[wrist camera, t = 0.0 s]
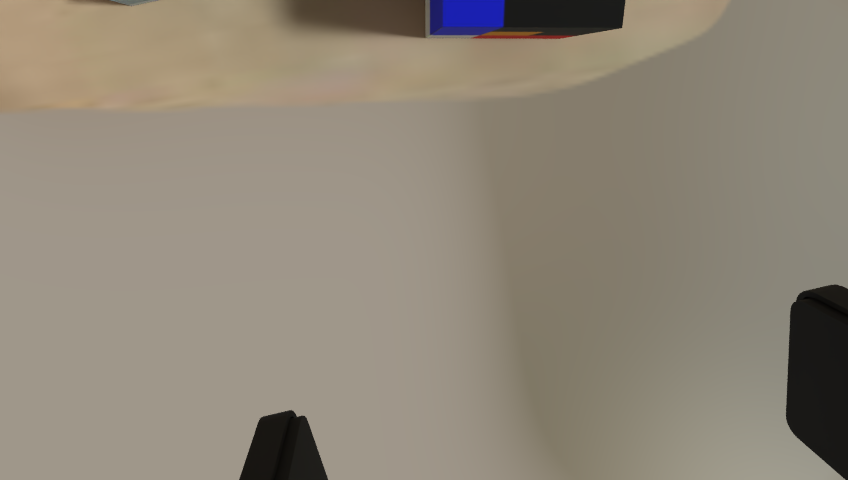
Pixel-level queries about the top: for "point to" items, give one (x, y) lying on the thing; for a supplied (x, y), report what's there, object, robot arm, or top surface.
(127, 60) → the top surface
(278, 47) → the top surface
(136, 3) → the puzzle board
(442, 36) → the puzzle toy
